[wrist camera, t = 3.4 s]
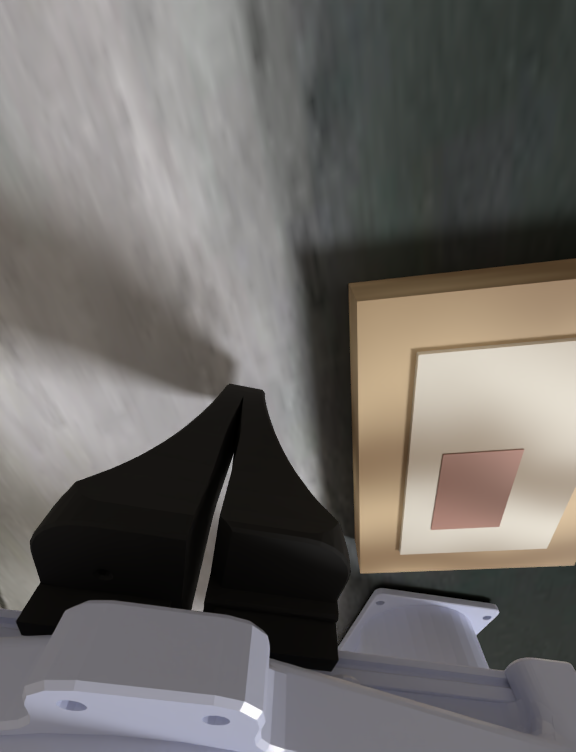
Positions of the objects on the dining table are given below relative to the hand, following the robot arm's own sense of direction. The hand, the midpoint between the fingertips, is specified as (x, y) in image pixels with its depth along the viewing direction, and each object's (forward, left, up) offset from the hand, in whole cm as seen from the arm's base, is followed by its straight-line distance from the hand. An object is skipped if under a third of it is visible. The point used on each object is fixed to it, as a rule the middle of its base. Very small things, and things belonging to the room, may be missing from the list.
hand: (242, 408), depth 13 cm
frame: (0, -10, -2) cm, 10 cm away
